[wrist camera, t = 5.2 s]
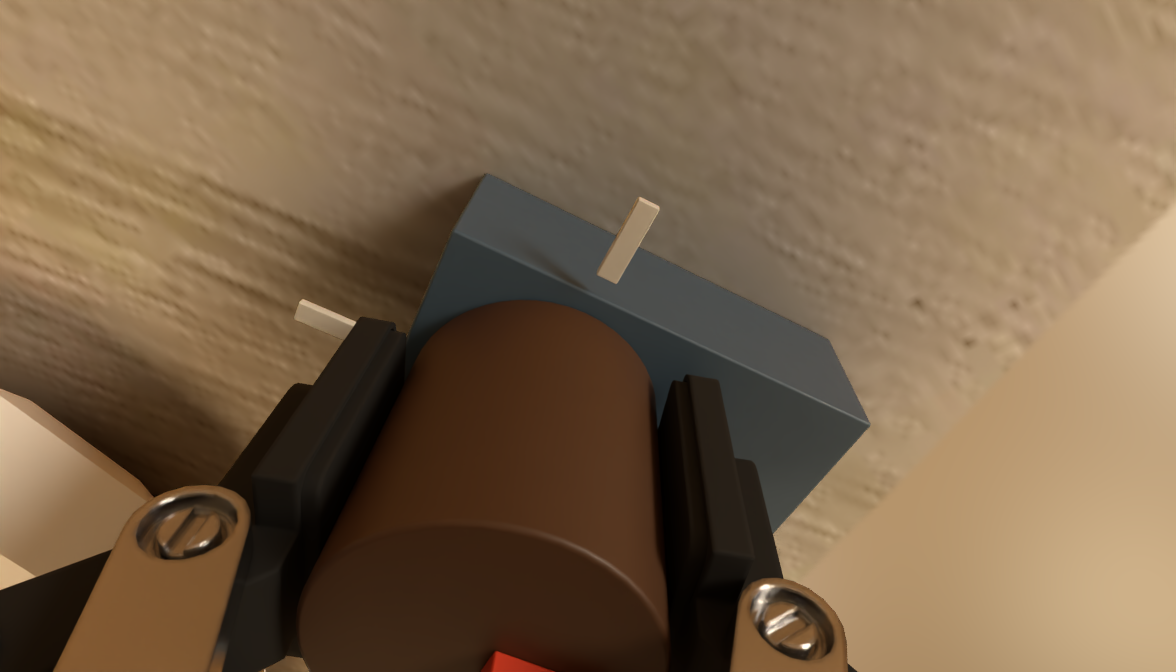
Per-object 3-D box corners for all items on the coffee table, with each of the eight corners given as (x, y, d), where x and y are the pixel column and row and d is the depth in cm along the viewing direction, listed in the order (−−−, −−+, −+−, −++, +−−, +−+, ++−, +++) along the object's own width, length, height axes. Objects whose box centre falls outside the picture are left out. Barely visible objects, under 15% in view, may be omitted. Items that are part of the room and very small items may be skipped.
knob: (377, 445, 13) (243, 723, 9) (462, 254, 11) (346, 483, 6) (588, 529, 14) (568, 823, 9) (703, 365, 12) (751, 639, 7)
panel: (429, 35, 12) (373, 65, 10) (884, 271, 14) (946, 353, 11) (273, 482, 18) (209, 582, 15) (614, 610, 20) (612, 720, 17)
